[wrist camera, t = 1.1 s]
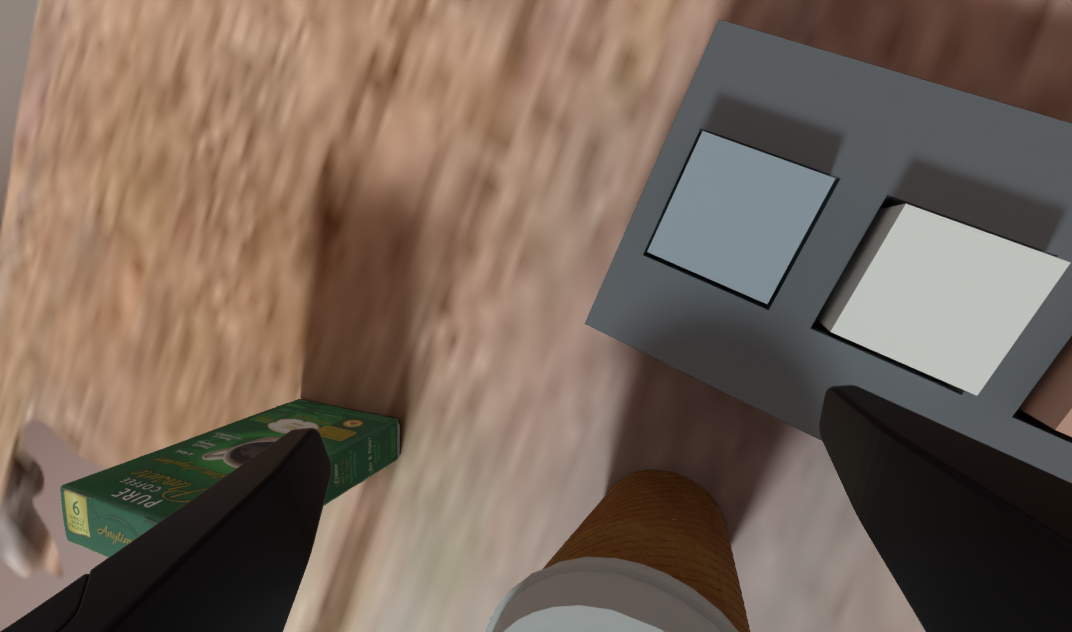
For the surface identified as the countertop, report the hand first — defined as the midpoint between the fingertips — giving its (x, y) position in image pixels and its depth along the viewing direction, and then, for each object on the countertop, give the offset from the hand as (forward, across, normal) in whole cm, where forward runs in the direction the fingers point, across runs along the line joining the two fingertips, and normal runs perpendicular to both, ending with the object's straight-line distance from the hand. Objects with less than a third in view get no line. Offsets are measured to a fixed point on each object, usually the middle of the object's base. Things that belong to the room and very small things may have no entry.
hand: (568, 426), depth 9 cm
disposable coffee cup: (+11, -4, +16) cm, 20 cm away
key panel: (+12, -14, +4) cm, 19 cm away
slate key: (+13, -7, +1) cm, 15 cm away
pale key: (+10, -13, +3) cm, 17 cm away
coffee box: (+18, +14, +14) cm, 27 cm away
